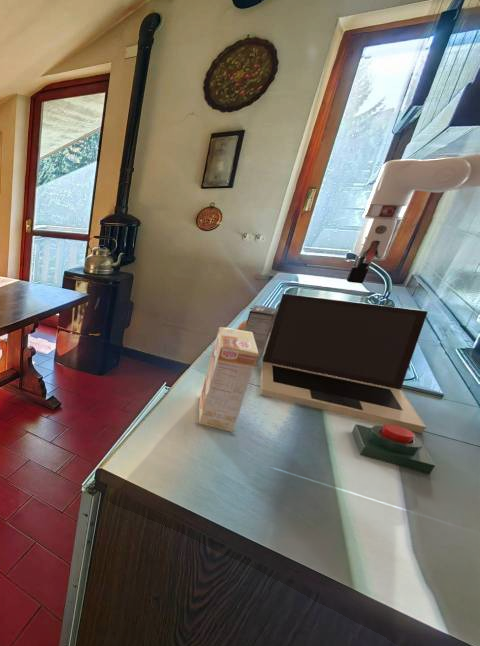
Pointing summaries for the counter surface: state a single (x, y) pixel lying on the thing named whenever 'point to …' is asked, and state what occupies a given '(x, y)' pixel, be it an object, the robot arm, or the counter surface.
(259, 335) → the coffee box
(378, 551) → the counter surface
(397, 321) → the laptop screen
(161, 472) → the counter surface
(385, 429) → the button
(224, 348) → the coffeecake box
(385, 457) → the switch box
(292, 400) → the laptop
